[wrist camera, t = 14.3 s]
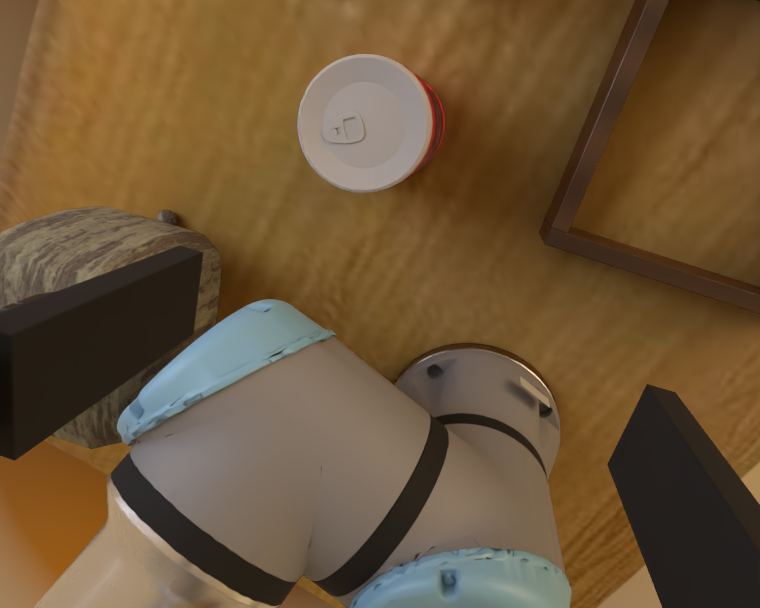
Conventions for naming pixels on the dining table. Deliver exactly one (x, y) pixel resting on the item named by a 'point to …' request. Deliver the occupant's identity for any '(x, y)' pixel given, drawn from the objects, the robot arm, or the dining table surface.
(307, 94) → the canned food
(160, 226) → the tabletop clock
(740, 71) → the dining table surface
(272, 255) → the dining table surface
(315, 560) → the robot arm
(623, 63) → the crate
